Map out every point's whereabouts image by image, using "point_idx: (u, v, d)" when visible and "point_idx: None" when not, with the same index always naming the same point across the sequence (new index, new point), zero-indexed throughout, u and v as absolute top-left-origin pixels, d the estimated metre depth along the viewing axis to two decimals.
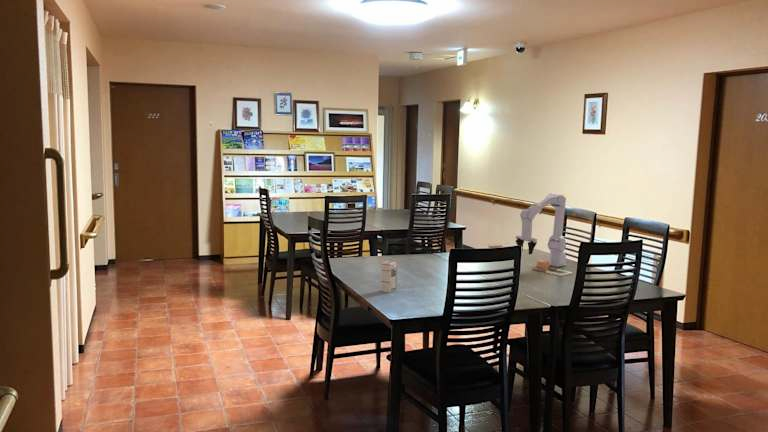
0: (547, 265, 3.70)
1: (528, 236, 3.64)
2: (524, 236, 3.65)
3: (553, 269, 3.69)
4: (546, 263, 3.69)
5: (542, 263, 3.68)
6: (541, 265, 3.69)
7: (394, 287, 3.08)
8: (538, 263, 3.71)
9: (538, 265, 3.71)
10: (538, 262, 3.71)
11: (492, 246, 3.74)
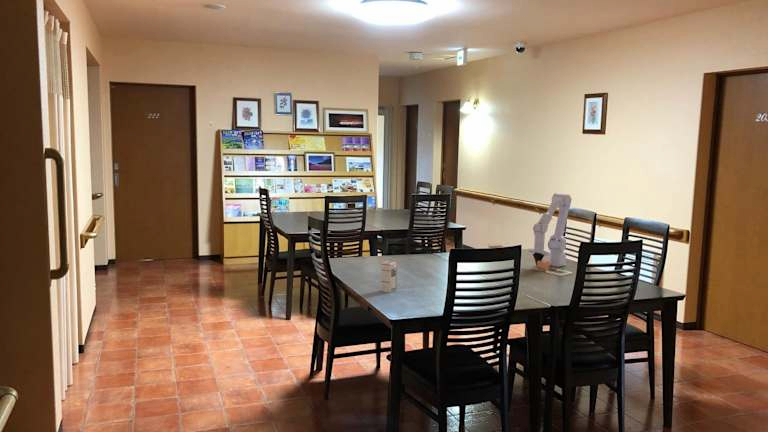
0: (547, 265, 3.70)
1: (541, 249, 3.70)
2: (537, 249, 3.71)
3: (553, 269, 3.69)
4: (546, 263, 3.69)
5: (542, 263, 3.68)
6: (541, 265, 3.68)
7: (394, 287, 3.08)
8: (538, 263, 3.70)
9: (538, 265, 3.70)
10: (538, 262, 3.70)
11: (492, 246, 3.74)
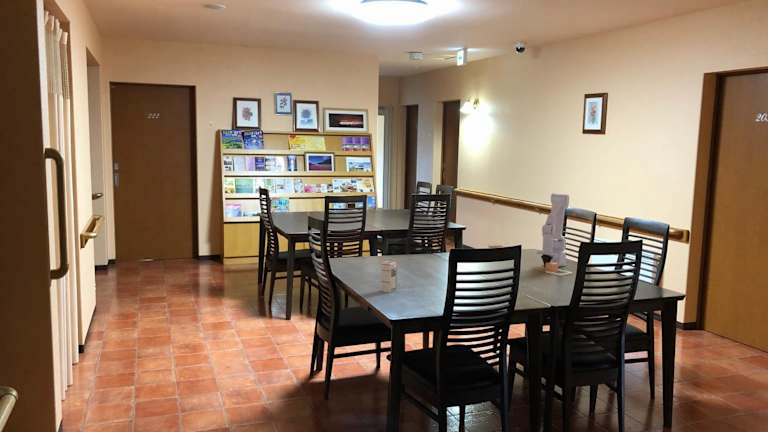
0: (556, 267, 3.64)
1: (549, 251, 3.65)
2: (545, 251, 3.66)
3: None
4: (555, 265, 3.64)
5: (551, 265, 3.63)
6: (550, 267, 3.63)
7: (394, 287, 3.08)
8: (547, 265, 3.65)
9: (547, 267, 3.65)
10: (547, 263, 3.65)
11: (492, 246, 3.74)
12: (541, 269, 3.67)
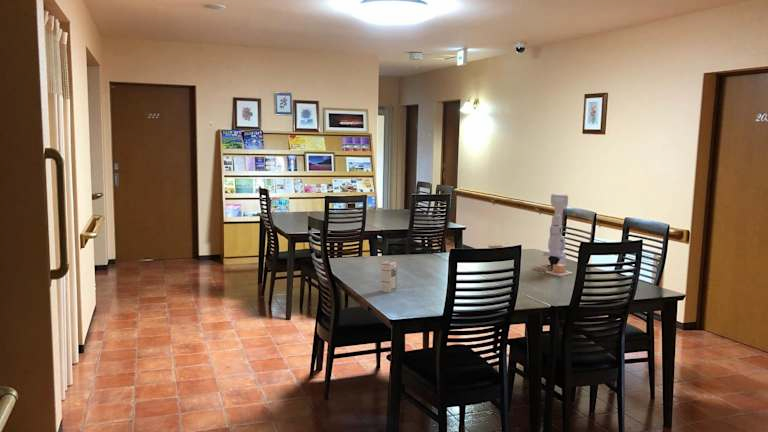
0: (563, 269, 3.60)
1: (556, 252, 3.61)
2: (552, 252, 3.61)
3: None
4: (562, 267, 3.59)
5: (558, 267, 3.58)
6: (557, 269, 3.59)
7: (394, 287, 3.08)
8: (554, 267, 3.61)
9: (554, 269, 3.61)
10: (554, 265, 3.61)
11: (492, 246, 3.74)
12: (541, 269, 3.67)
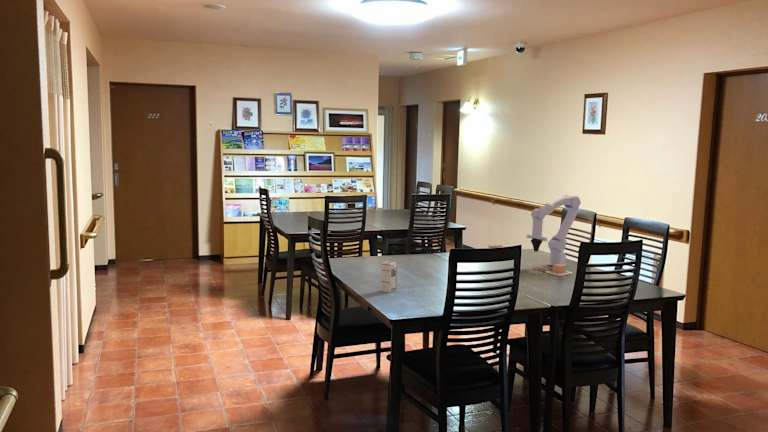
0: (563, 269, 3.60)
1: (539, 235, 3.74)
2: (535, 235, 3.74)
3: None
4: (562, 267, 3.59)
5: (558, 267, 3.58)
6: (557, 269, 3.59)
7: (394, 287, 3.08)
8: (554, 267, 3.61)
9: (554, 269, 3.61)
10: (554, 265, 3.61)
11: (492, 246, 3.74)
12: (541, 269, 3.67)
